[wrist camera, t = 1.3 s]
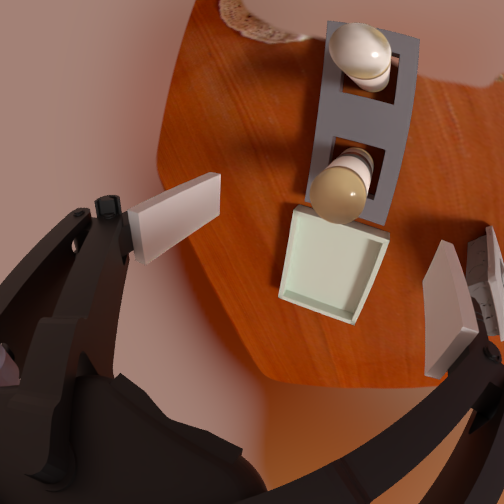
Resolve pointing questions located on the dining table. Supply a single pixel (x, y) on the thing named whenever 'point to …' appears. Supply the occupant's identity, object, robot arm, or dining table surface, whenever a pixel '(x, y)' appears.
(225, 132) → the dining table surface
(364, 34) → the fuse
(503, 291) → the electrical switch
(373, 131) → the fuse block
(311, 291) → the parts tray
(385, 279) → the dining table surface
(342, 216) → the fuse
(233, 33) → the dining table surface
